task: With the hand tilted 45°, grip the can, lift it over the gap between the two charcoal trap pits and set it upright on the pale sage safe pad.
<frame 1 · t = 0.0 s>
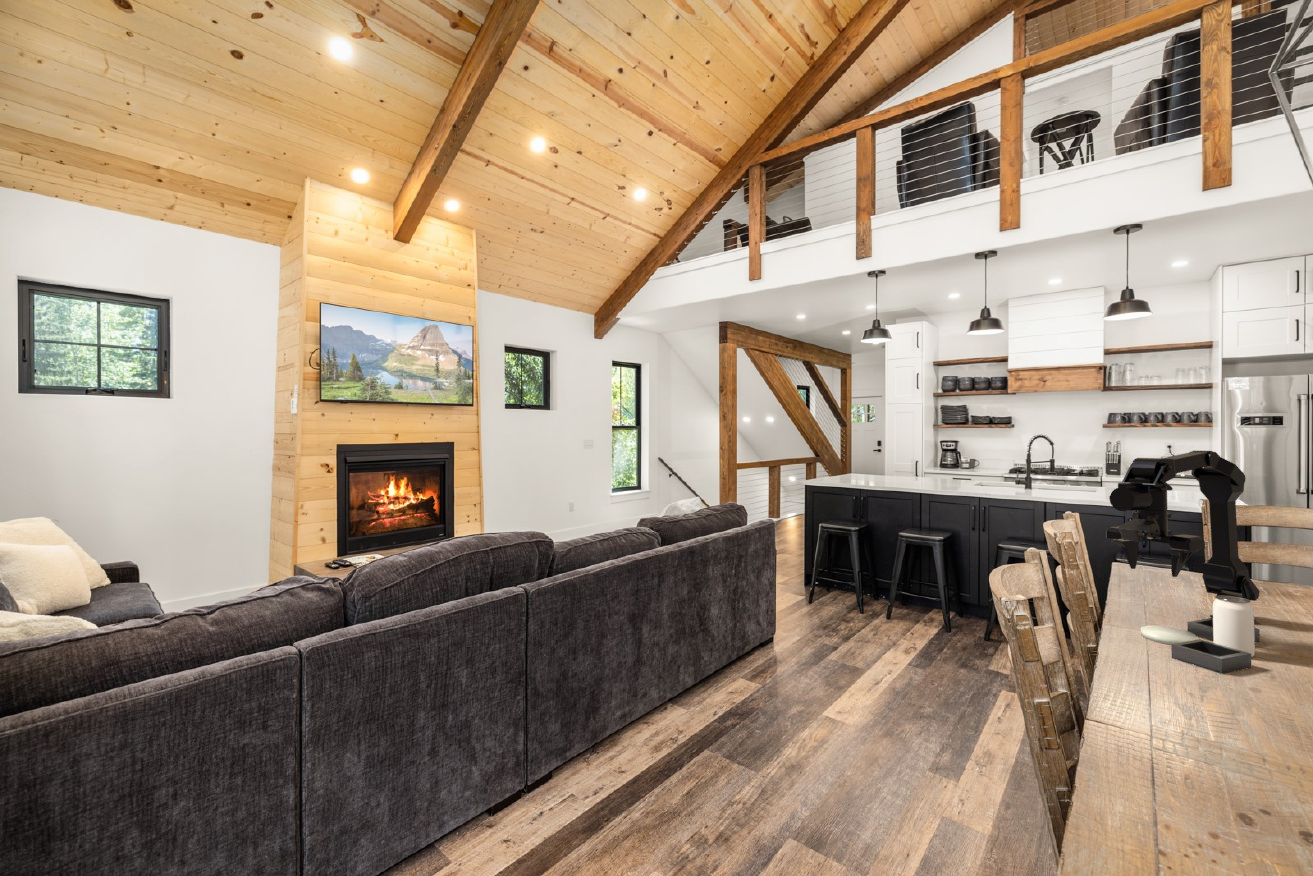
hand: (1153, 572, 143), 15 cm above the table, tool pointing down, fingers open, 9 cm apart
safe pad: (1168, 638, 138), on the table
can: (1233, 654, 129), on the table
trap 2: (1222, 638, 138), on the table
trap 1: (1210, 662, 124), on the table
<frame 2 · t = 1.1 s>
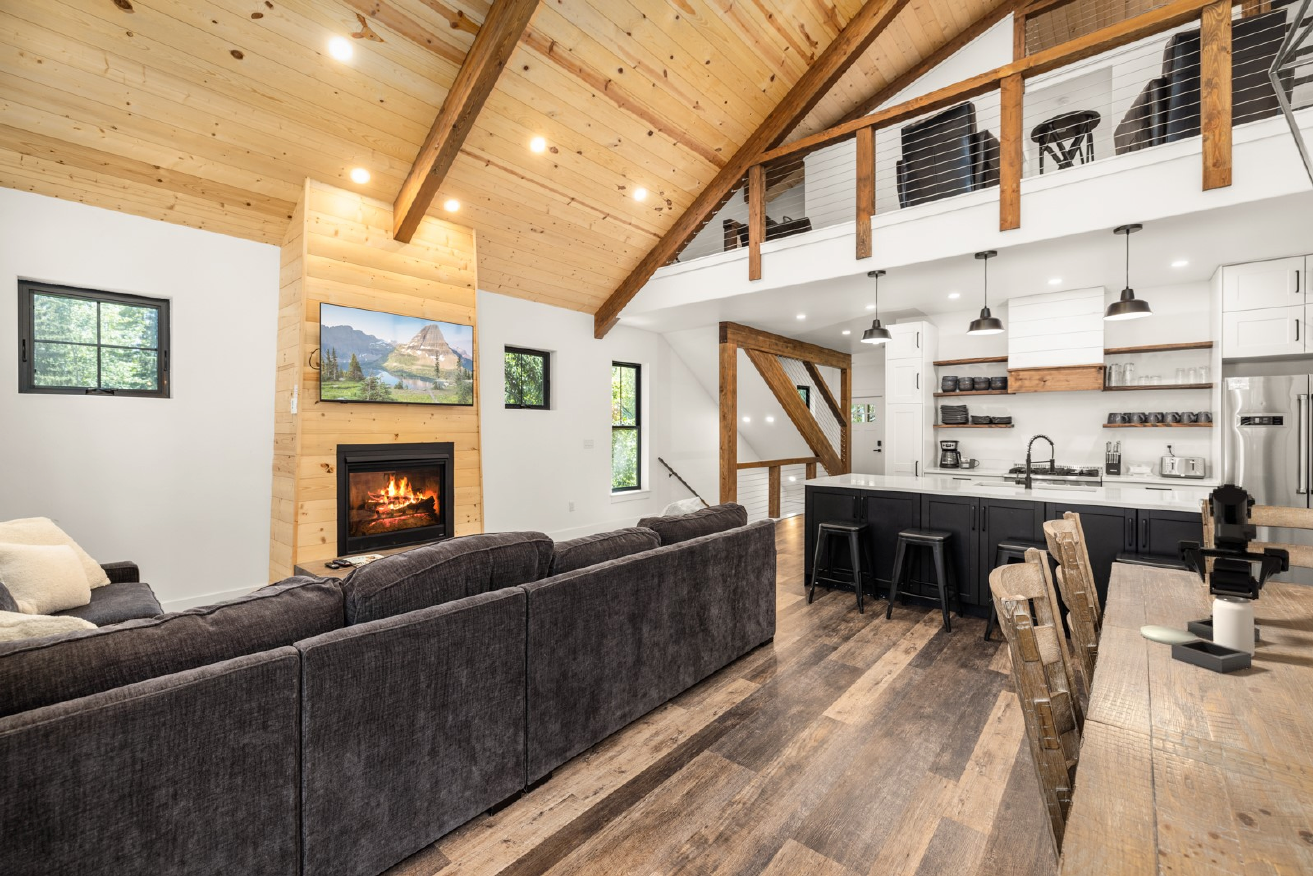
hand: (1231, 585, 134), 13 cm above the table, tool tilted 45°, fingers open, 9 cm apart
nothing on the table moved.
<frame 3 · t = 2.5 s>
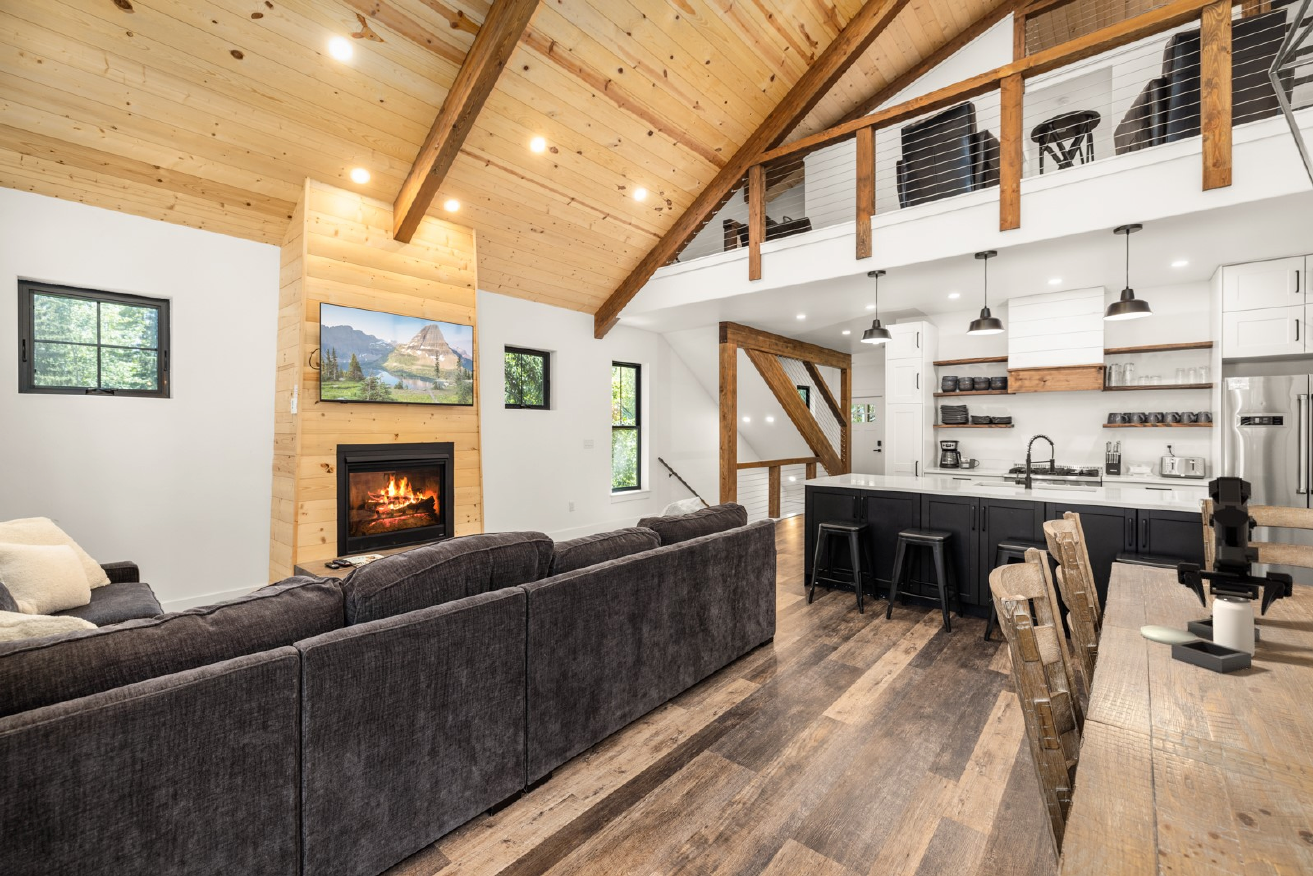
hand: (1232, 610, 130), 9 cm above the table, tool tilted 45°, fingers open, 9 cm apart
nothing on the table moved.
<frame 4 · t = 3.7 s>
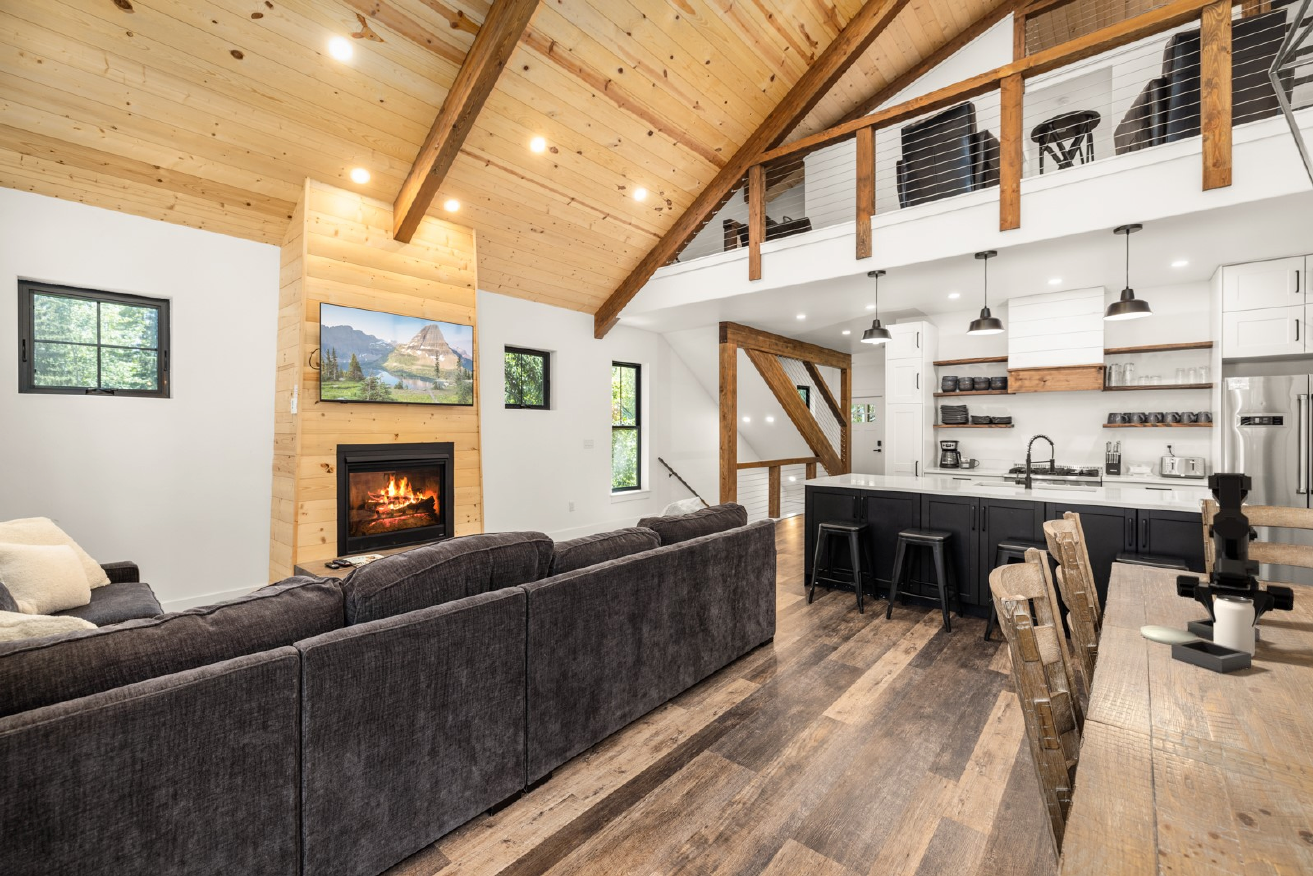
hand: (1232, 624, 128), 7 cm above the table, tool tilted 45°, fingers closed on can, 5 cm apart
can: (1233, 653, 129), on the table, touching gripper
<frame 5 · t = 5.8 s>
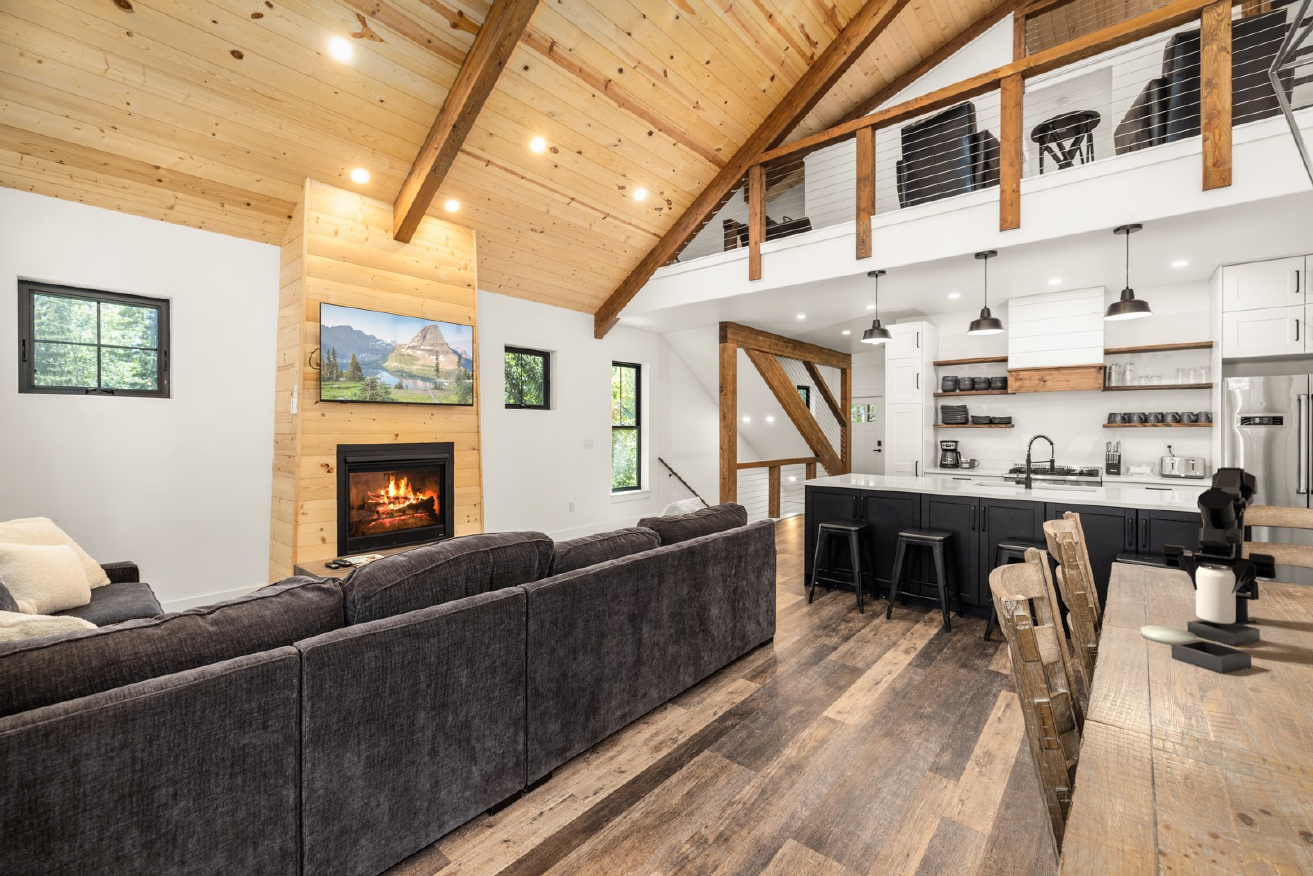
hand: (1213, 591, 130), 13 cm above the table, tool tilted 45°, fingers closed on can, 5 cm apart
can: (1215, 620, 131), point 6 cm above the table, touching gripper
when the fingers open (9 cm above the table, at t = 7.8 s): can stays where it is, resting on safe pad.
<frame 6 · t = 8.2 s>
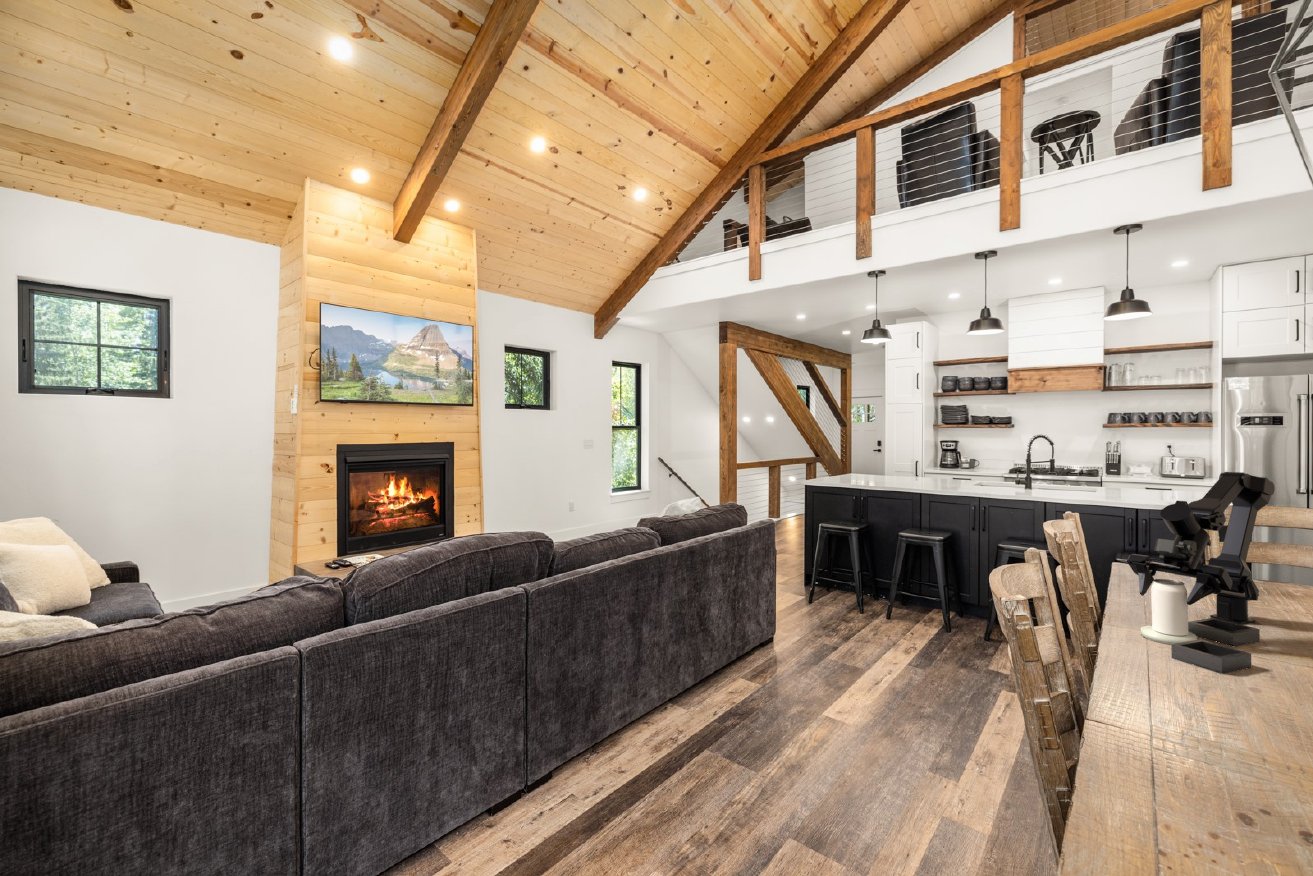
hand: (1164, 599, 138), 10 cm above the table, tool tilted 45°, fingers open, 9 cm apart
can: (1170, 633, 138), point 1 cm above the table, touching safe pad
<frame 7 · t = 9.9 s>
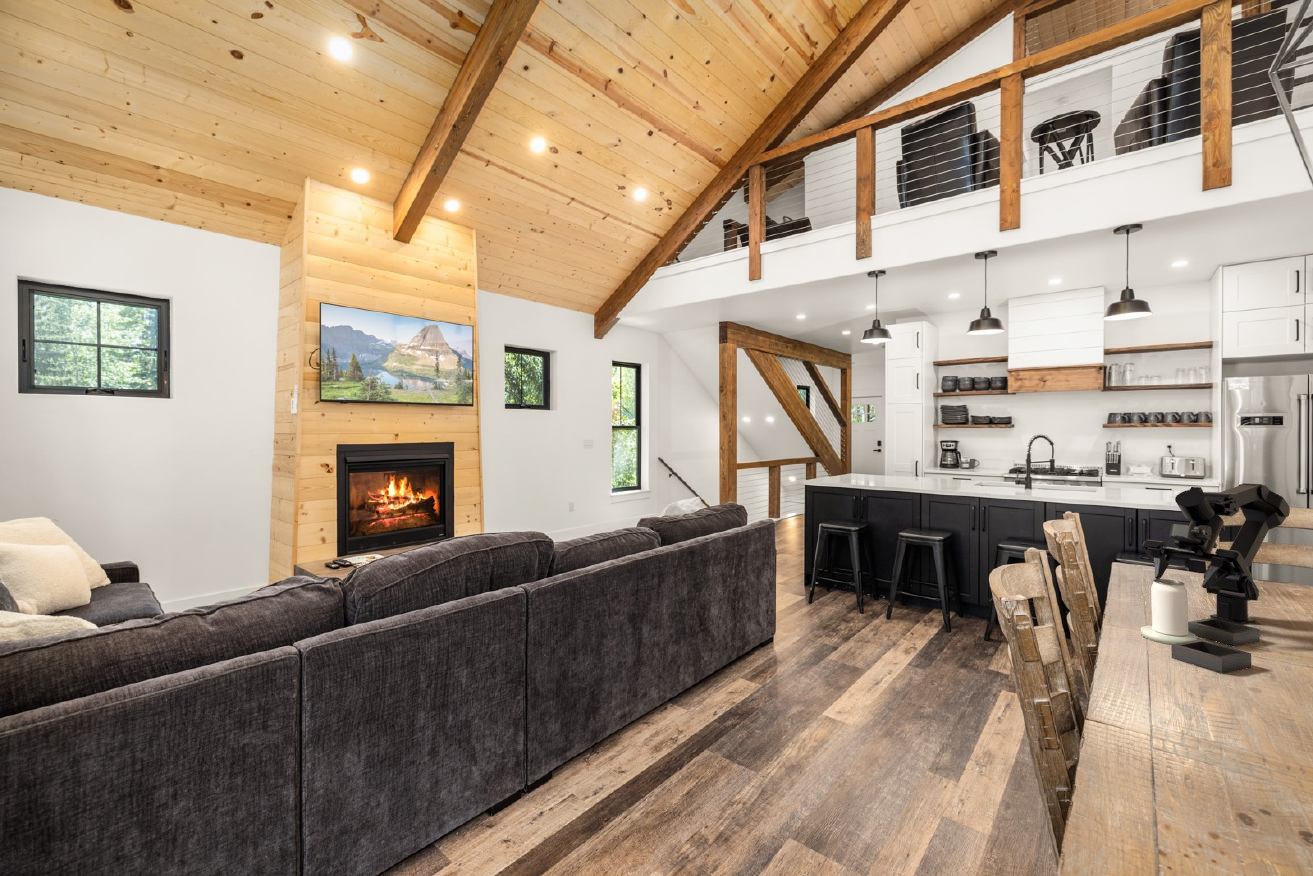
hand: (1179, 583, 141), 13 cm above the table, tool tilted 45°, fingers open, 9 cm apart
nothing on the table moved.
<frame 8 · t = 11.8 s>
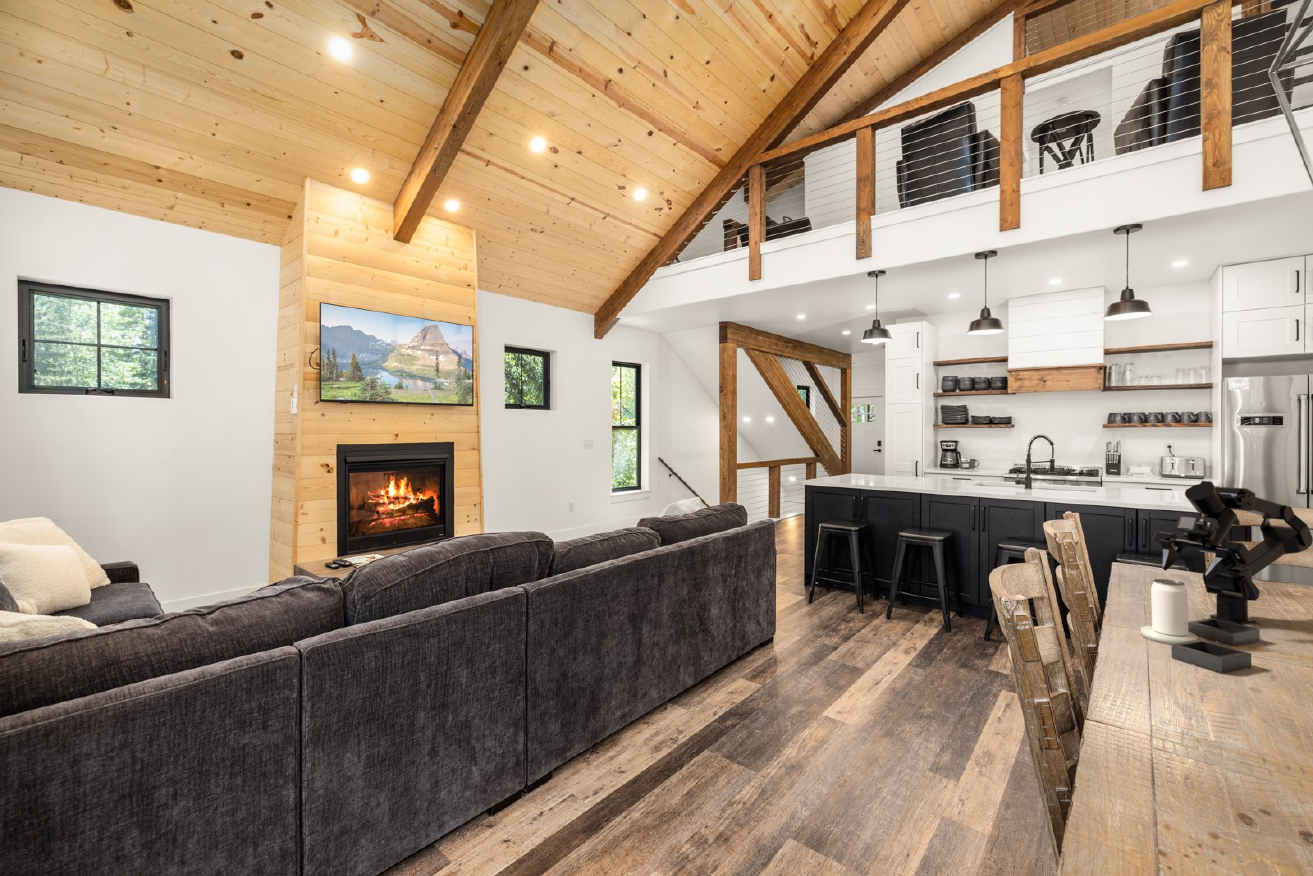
hand: (1184, 573, 146), 14 cm above the table, tool tilted 45°, fingers open, 9 cm apart
nothing on the table moved.
at the end: can 0.4 cm from the safe pad (horizontally); can point 1.3 cm above the table; can tilted 0° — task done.
